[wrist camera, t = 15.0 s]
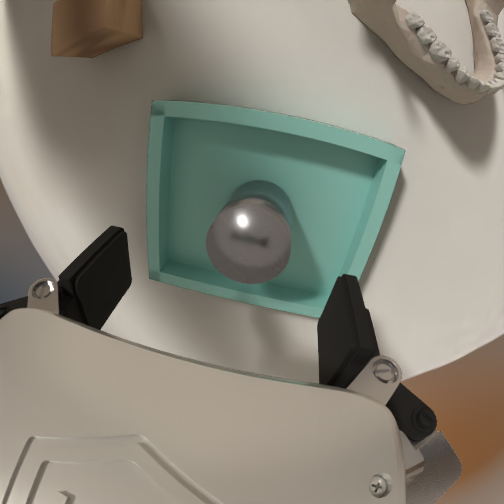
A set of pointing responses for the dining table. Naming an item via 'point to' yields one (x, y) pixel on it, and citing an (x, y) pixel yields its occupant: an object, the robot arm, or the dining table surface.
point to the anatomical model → (441, 47)
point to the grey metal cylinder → (252, 233)
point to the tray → (273, 170)
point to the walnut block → (94, 26)
